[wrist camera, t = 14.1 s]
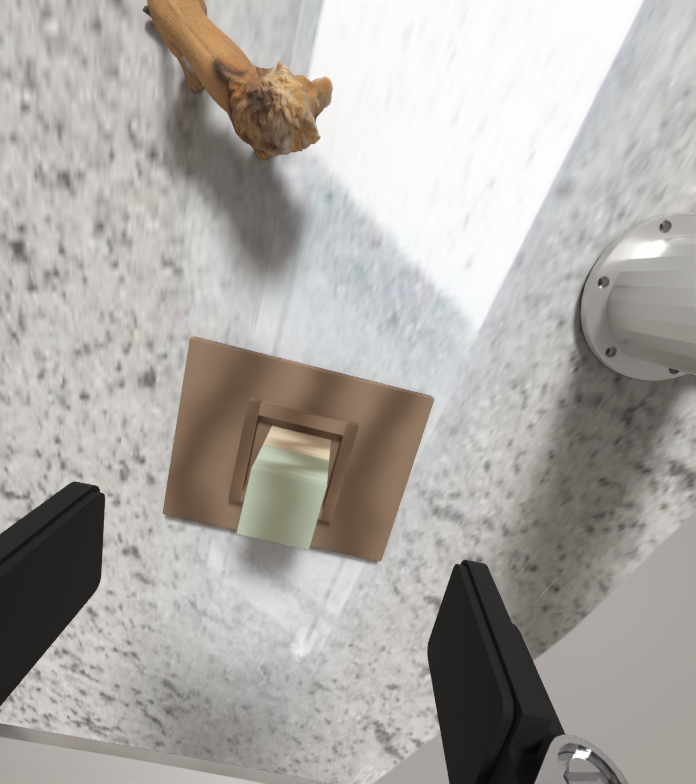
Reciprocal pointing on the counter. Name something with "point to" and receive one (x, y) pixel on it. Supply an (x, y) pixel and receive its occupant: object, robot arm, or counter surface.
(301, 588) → the counter surface
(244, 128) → the lion figurine
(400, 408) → the walnut socket board
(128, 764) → the robot arm
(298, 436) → the two-tone block
